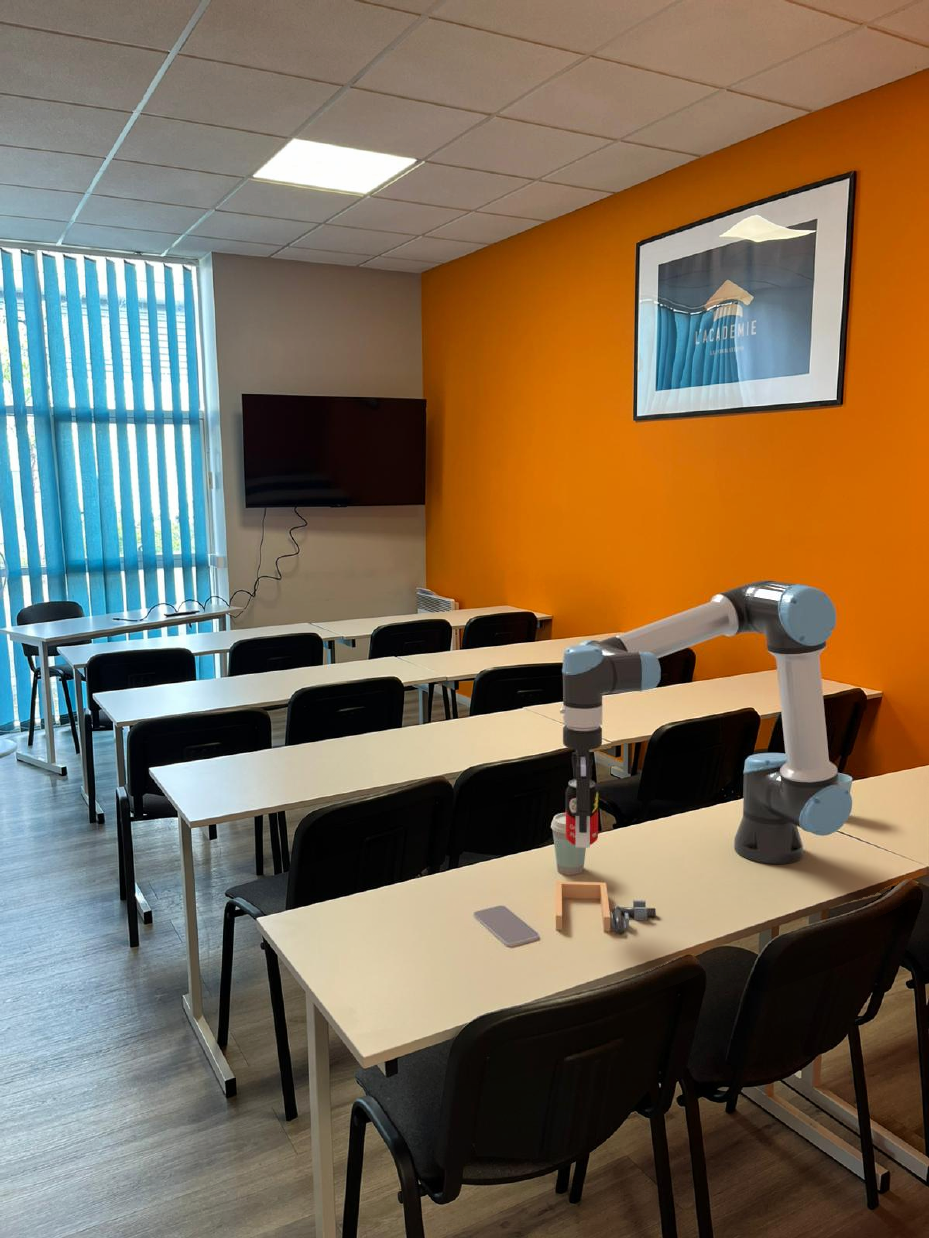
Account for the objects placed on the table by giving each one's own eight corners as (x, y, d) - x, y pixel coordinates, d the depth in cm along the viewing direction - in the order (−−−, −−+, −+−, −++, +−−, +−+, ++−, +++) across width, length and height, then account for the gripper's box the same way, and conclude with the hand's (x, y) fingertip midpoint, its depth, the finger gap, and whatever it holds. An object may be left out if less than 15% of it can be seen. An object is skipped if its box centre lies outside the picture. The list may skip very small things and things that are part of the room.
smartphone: (503, 904, 184) (541, 935, 170) (503, 908, 184) (541, 939, 170) (471, 912, 180) (507, 944, 167) (471, 916, 181) (507, 949, 167)
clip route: (654, 911, 180) (654, 900, 180) (659, 935, 170) (660, 924, 170) (607, 910, 181) (607, 899, 181) (610, 934, 171) (610, 922, 171)
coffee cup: (588, 862, 204) (588, 811, 203) (590, 878, 196) (590, 825, 194) (551, 861, 205) (550, 811, 204) (550, 877, 197) (550, 825, 195)
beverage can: (559, 838, 178) (559, 780, 176) (587, 833, 181) (587, 776, 179) (575, 850, 172) (576, 790, 171) (604, 844, 175) (604, 785, 173)
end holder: (605, 896, 187) (605, 882, 187) (610, 931, 172) (610, 917, 172) (555, 894, 188) (555, 881, 188) (555, 929, 173) (555, 915, 173)
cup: (835, 823, 225) (837, 783, 224) (811, 813, 232) (813, 775, 230) (857, 818, 228) (859, 778, 227) (832, 809, 235) (834, 770, 234)
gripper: (562, 713, 183) (562, 821, 186) (563, 739, 164) (563, 859, 167) (599, 713, 182) (599, 822, 186) (604, 739, 163) (603, 860, 167)
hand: (582, 839), depth 177 cm, fingers closed on beverage can, 6 cm apart
